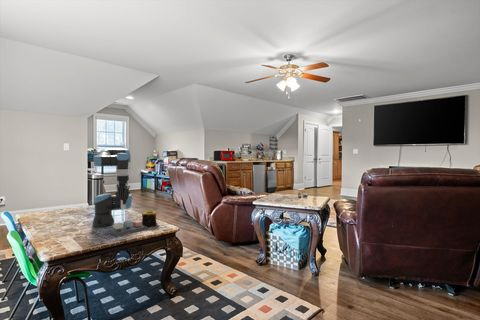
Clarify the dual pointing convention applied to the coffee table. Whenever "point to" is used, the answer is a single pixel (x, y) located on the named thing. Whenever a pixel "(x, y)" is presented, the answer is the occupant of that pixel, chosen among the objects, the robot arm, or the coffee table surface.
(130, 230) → the keypad base
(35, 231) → the coffee table surface
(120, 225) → the key ivory
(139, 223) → the key coral
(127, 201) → the robot arm
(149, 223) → the candle
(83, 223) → the coffee table surface
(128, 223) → the key slate
